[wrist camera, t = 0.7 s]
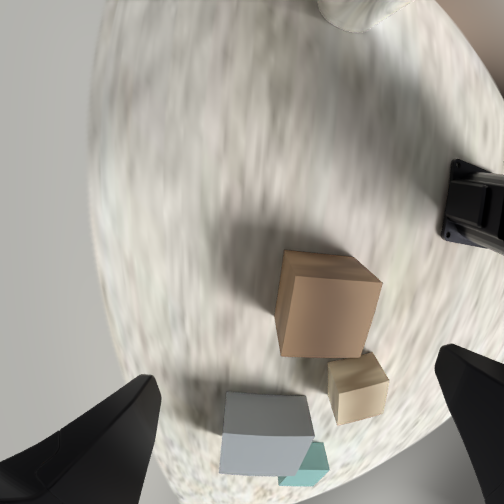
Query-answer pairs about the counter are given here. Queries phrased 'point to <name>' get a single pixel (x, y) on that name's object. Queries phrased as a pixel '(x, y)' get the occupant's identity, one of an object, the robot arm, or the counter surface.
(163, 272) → the counter surface
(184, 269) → the counter surface
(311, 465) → the teal cube
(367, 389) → the maple cube
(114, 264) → the counter surface
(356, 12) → the cup with straw
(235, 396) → the grey cube
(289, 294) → the walnut cube
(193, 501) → the counter surface
